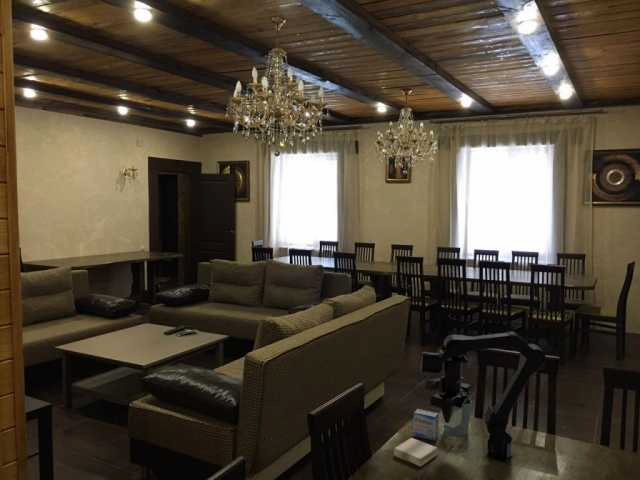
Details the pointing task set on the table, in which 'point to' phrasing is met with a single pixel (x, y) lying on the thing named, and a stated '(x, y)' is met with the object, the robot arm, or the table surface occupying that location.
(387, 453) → the table surface
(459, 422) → the green cube
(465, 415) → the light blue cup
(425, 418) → the medicine box
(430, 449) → the birch block
